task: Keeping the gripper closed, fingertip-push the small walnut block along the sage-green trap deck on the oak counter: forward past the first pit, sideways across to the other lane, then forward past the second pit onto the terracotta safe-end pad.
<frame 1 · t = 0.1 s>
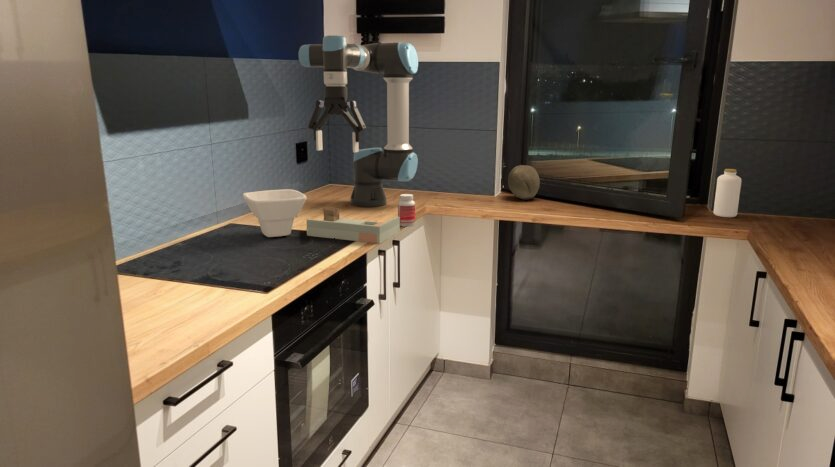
hand: (337, 151, 208), 28 cm above the worktop, fingers open, 13 cm apart
potion bottle: (724, 216, 243), on the worktop
walnut block: (331, 219, 221), point 3 cm above the worktop, touching trap deck
pill bottle: (406, 225, 226), on the worktop
cantaloupe: (522, 199, 275), on the worktop
bowl: (276, 236, 211), on the worktop
trap deck: (353, 233, 213), on the worktop
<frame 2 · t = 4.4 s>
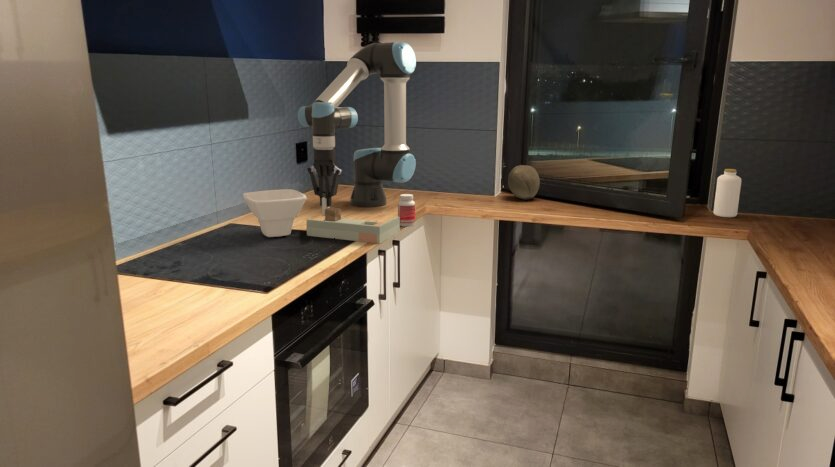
hand: (326, 215, 221), 4 cm above the worktop, fingers closed
walnut block: (333, 220, 220), point 3 cm above the worktop, touching gripper
everything else where it was.
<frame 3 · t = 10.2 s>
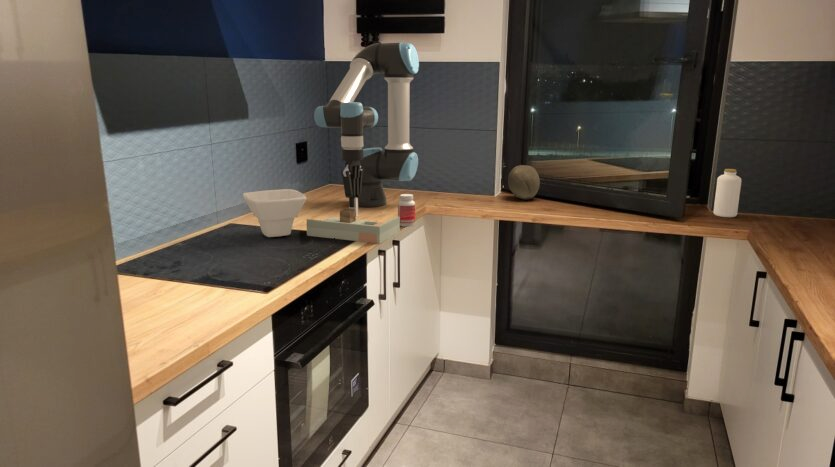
hand: (353, 215, 220), 5 cm above the worktop, fingers closed
walnut block: (347, 221, 218), point 3 cm above the worktop, touching gripper
everything else where it was.
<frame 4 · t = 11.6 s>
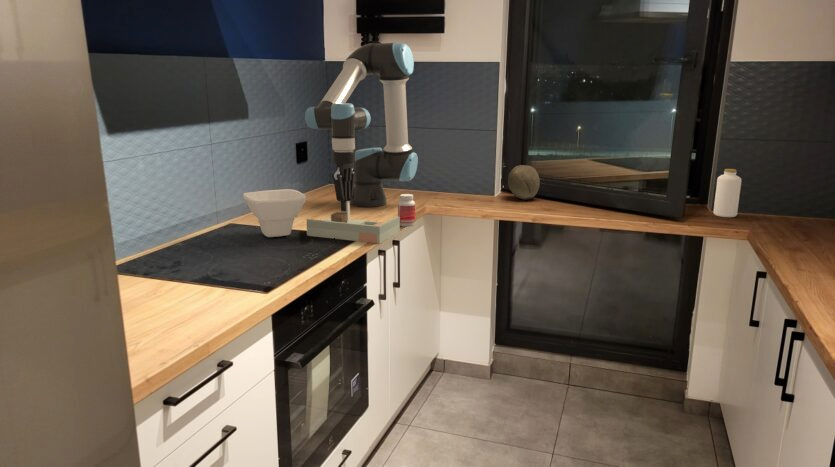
hand: (345, 219, 214), 4 cm above the worktop, fingers closed
walnut block: (339, 225, 213), point 3 cm above the worktop, touching gripper
everything else where it was.
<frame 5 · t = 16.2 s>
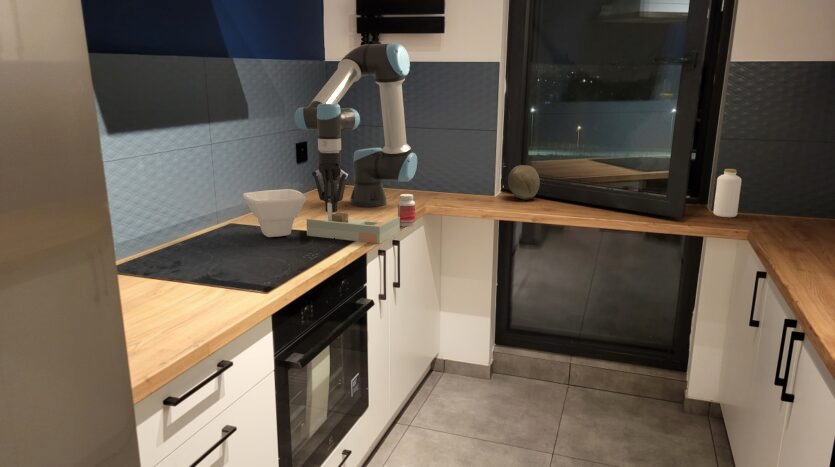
hand: (331, 221, 212), 4 cm above the worktop, fingers closed
walnut block: (340, 225, 212), point 3 cm above the worktop, touching gripper, trap deck
everything else where it was.
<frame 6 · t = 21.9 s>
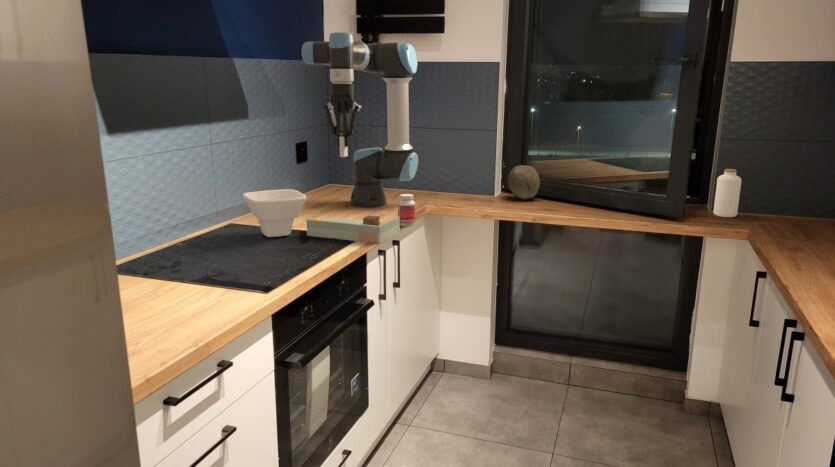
hand: (343, 156, 207), 26 cm above the worktop, fingers closed
walnut block: (371, 228, 208), point 3 cm above the worktop, touching trap deck
everything else where it was.
at the end: walnut block inside the target area (1.9 cm from its centre), point 3.0 cm above the worktop; walnut block tilted 0° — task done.
